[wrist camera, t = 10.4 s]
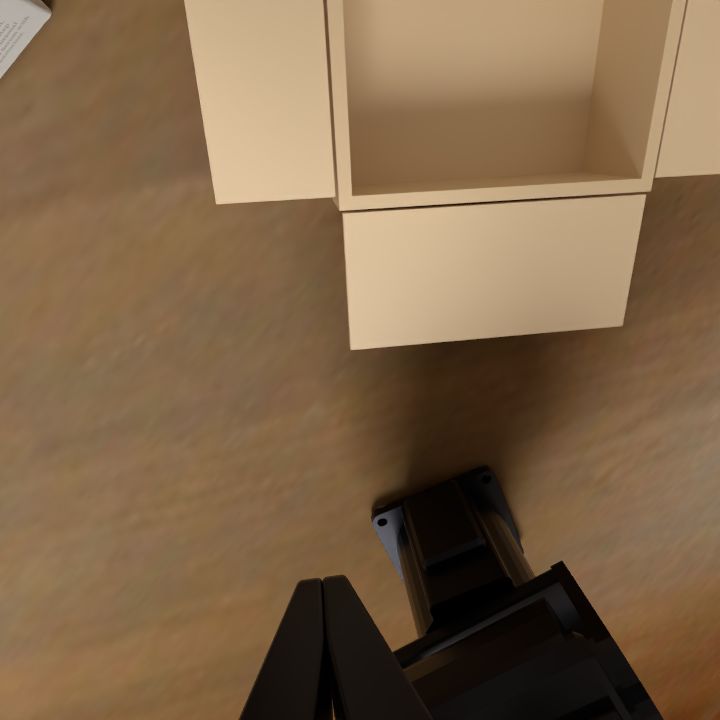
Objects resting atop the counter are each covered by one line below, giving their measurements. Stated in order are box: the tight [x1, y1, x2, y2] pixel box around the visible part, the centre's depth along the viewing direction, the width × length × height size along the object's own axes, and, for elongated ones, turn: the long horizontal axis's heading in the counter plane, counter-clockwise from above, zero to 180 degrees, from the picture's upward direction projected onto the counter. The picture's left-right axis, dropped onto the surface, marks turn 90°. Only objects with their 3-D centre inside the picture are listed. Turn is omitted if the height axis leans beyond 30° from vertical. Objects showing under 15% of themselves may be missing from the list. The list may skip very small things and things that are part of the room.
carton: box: [184, 0, 720, 350], centre depth 16 cm, size 17×17×4 cm
